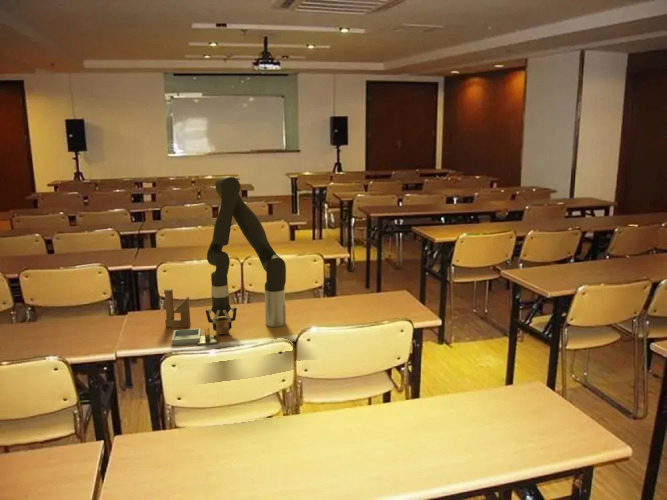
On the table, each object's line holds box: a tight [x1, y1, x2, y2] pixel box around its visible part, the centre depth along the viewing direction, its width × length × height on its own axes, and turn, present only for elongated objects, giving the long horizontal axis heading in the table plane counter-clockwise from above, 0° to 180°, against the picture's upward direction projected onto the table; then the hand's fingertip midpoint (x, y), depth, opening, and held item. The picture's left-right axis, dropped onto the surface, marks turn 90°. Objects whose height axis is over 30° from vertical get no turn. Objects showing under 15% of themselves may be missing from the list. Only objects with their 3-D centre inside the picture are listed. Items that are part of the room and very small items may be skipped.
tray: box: [171, 328, 202, 346], centre depth 246 cm, size 12×12×2 cm
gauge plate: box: [197, 327, 218, 347], centre depth 243 cm, size 8×8×6 cm
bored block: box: [215, 316, 230, 335], centre depth 252 cm, size 6×6×6 cm
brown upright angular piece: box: [164, 288, 191, 329], centre depth 260 cm, size 4×11×18 cm, turn 90°
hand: (222, 329), depth 252 cm, fingers closed on bored block, 5 cm apart
